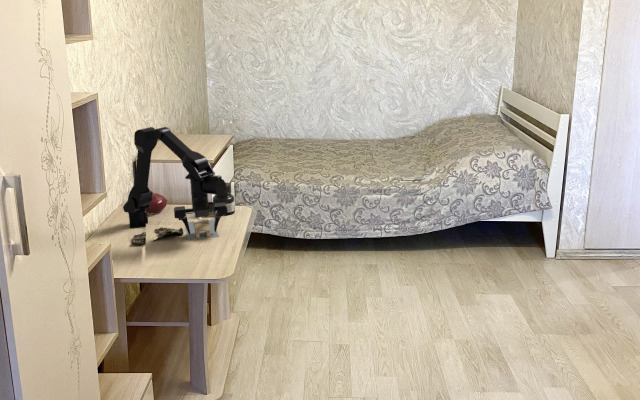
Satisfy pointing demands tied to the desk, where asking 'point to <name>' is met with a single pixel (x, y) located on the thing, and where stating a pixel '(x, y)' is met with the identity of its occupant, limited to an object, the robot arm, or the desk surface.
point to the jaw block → (202, 227)
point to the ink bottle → (226, 199)
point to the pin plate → (201, 234)
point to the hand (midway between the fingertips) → (202, 233)
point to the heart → (156, 204)
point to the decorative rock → (161, 231)
